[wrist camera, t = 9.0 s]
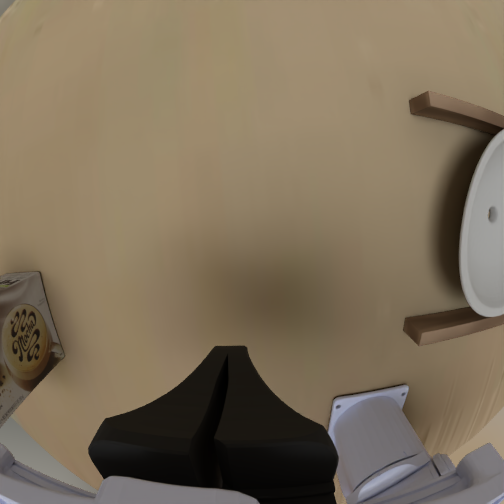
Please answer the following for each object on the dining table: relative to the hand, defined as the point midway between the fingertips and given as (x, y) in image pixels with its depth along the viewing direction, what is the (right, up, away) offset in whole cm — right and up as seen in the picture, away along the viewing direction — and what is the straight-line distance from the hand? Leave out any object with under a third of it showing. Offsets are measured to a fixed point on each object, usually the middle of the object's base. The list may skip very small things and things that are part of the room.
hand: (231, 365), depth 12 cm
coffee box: (-21, -2, +11) cm, 23 cm away
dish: (+23, +8, +9) cm, 26 cm away
